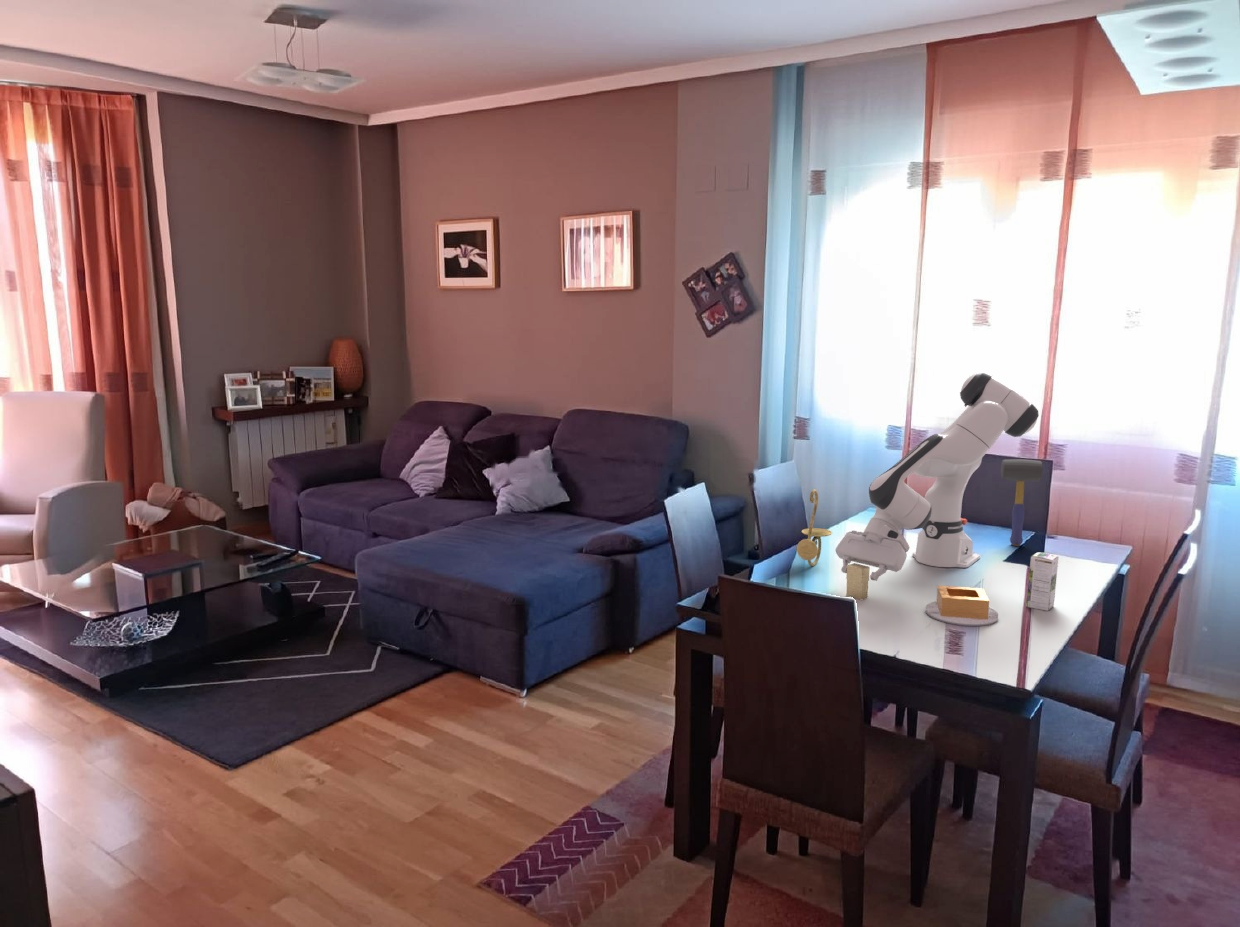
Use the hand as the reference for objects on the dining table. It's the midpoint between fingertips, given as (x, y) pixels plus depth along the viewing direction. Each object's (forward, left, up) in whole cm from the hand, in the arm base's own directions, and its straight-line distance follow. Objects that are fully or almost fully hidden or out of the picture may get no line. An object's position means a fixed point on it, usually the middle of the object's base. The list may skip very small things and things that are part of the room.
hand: (858, 575), depth 247 cm
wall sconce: (-16, -27, -7) cm, 32 cm away
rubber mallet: (-88, +4, -7) cm, 89 cm away
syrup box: (-30, +38, -7) cm, 49 cm away
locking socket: (-8, +27, -6) cm, 29 cm away
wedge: (0, 0, -6) cm, 6 cm away
